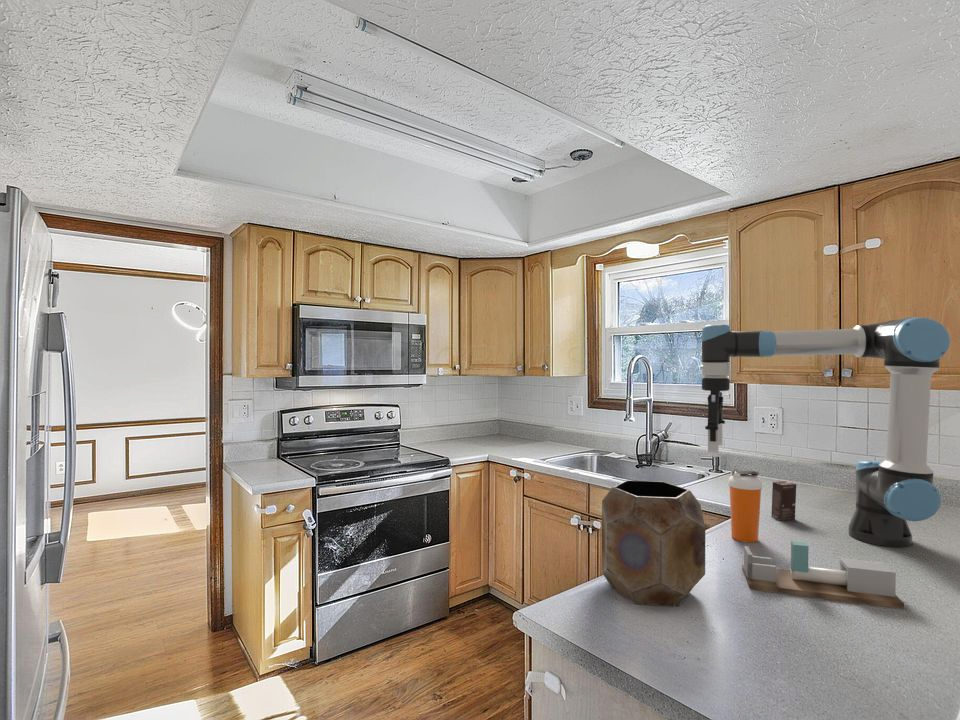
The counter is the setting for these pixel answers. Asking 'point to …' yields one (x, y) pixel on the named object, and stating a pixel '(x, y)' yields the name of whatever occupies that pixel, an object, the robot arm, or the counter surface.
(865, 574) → the sleeve
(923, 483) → the robot arm
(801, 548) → the bolt
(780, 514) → the box
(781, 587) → the board
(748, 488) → the shaker bottle
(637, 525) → the planter
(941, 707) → the counter surface
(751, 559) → the socket
